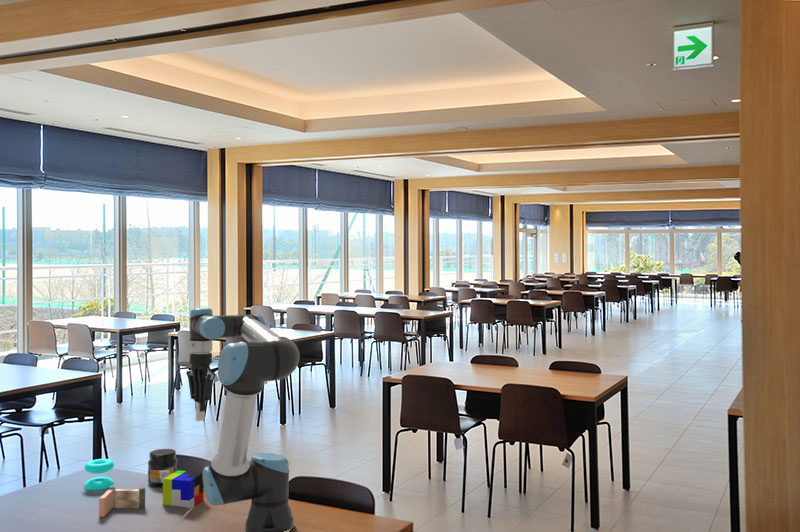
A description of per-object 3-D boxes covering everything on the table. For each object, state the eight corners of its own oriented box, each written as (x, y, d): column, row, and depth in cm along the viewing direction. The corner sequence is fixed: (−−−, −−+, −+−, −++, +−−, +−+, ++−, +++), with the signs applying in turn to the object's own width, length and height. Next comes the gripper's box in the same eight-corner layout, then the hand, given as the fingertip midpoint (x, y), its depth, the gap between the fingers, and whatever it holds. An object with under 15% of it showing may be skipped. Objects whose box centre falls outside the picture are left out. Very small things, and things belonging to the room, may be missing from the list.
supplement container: (167, 488, 255) (167, 456, 255) (141, 486, 258) (142, 454, 258) (182, 480, 266) (182, 449, 266) (158, 478, 268) (158, 447, 268)
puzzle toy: (189, 510, 234) (189, 481, 234) (162, 507, 236) (162, 478, 236) (203, 500, 244) (203, 472, 244) (177, 498, 246) (177, 470, 246)
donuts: (119, 459, 258) (100, 466, 248) (119, 486, 258) (100, 494, 248) (98, 456, 261) (78, 463, 252) (98, 483, 261) (78, 491, 252)
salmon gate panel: (110, 505, 234) (110, 485, 234) (115, 505, 234) (115, 485, 234) (98, 516, 223) (98, 496, 223) (104, 516, 224) (104, 496, 223)
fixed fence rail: (146, 507, 234) (146, 487, 234) (143, 509, 232) (143, 489, 232) (116, 506, 234) (117, 487, 234) (114, 508, 232) (114, 489, 232)
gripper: (180, 352, 240) (179, 419, 240) (204, 355, 232) (203, 425, 232) (197, 350, 246) (197, 415, 246) (221, 353, 238) (221, 421, 238)
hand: (200, 420), depth 239 cm, fingers closed
